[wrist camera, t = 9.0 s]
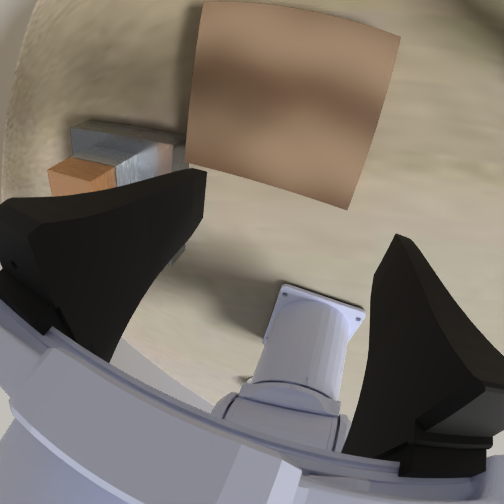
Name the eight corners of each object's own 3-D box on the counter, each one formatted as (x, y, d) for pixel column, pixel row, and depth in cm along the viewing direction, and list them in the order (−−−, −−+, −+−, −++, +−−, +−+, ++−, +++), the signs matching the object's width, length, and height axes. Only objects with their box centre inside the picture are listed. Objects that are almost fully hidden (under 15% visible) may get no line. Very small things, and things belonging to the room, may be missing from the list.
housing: (142, 239, 25) (108, 274, 21) (102, 224, 26) (67, 254, 22) (137, 154, 20) (90, 181, 16) (92, 145, 20) (47, 169, 17)
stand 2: (348, 193, 19) (347, 210, 17) (201, 150, 21) (184, 161, 19) (394, 41, 12) (400, 37, 10) (221, 6, 14) (203, 1, 12)
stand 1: (185, 249, 27) (171, 265, 25) (99, 217, 29) (84, 229, 27) (190, 135, 20) (172, 145, 18) (90, 120, 22) (70, 128, 20)
